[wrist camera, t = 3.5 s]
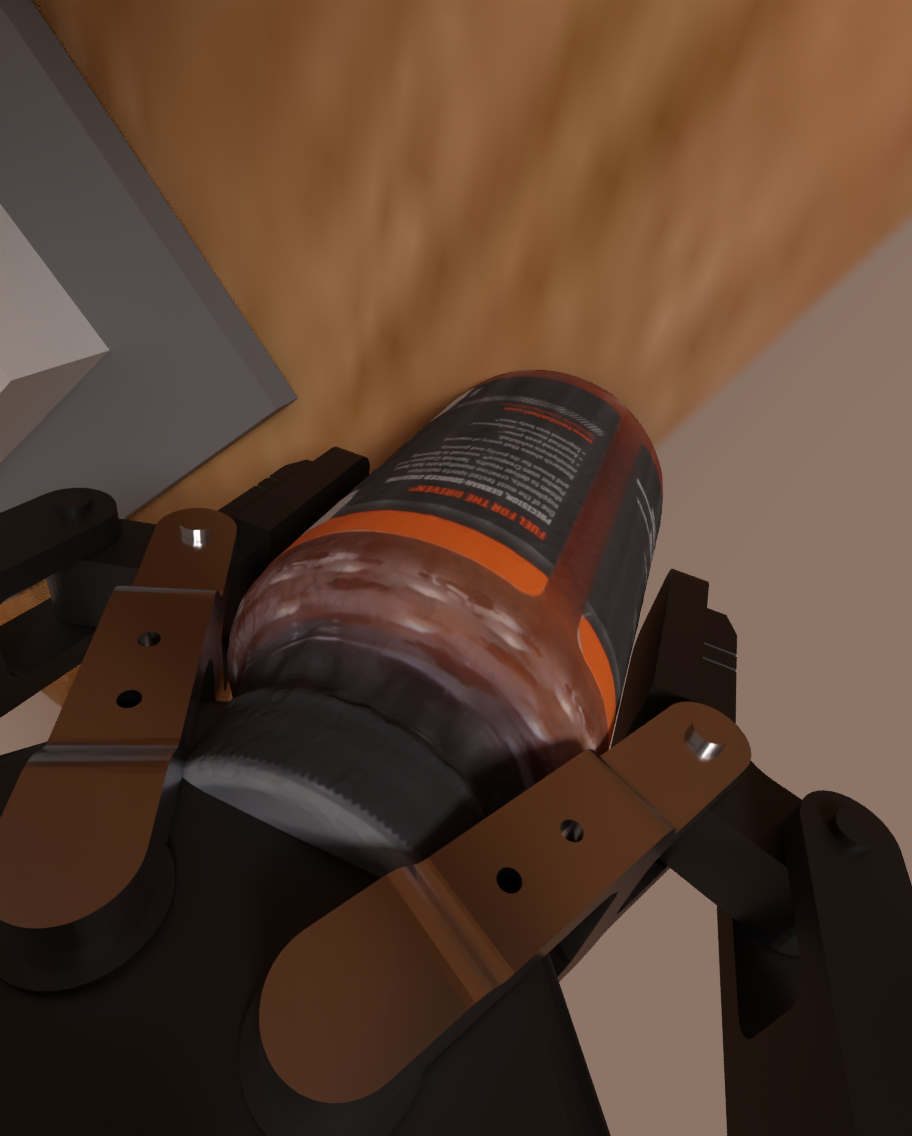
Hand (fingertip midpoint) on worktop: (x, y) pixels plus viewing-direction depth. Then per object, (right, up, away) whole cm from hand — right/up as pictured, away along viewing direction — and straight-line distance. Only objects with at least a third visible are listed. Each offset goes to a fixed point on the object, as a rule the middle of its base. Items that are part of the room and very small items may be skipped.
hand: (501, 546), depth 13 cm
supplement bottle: (+1, +2, +3) cm, 4 cm away
